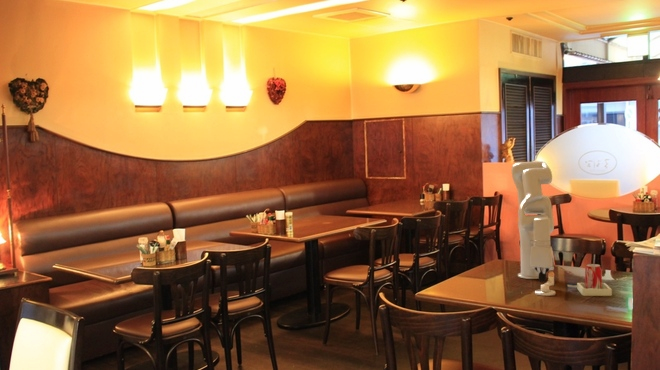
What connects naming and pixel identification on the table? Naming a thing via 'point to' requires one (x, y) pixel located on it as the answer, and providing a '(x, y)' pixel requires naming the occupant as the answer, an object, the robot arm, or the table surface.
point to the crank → (550, 282)
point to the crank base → (544, 293)
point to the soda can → (593, 276)
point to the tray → (594, 290)
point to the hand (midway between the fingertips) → (542, 281)
